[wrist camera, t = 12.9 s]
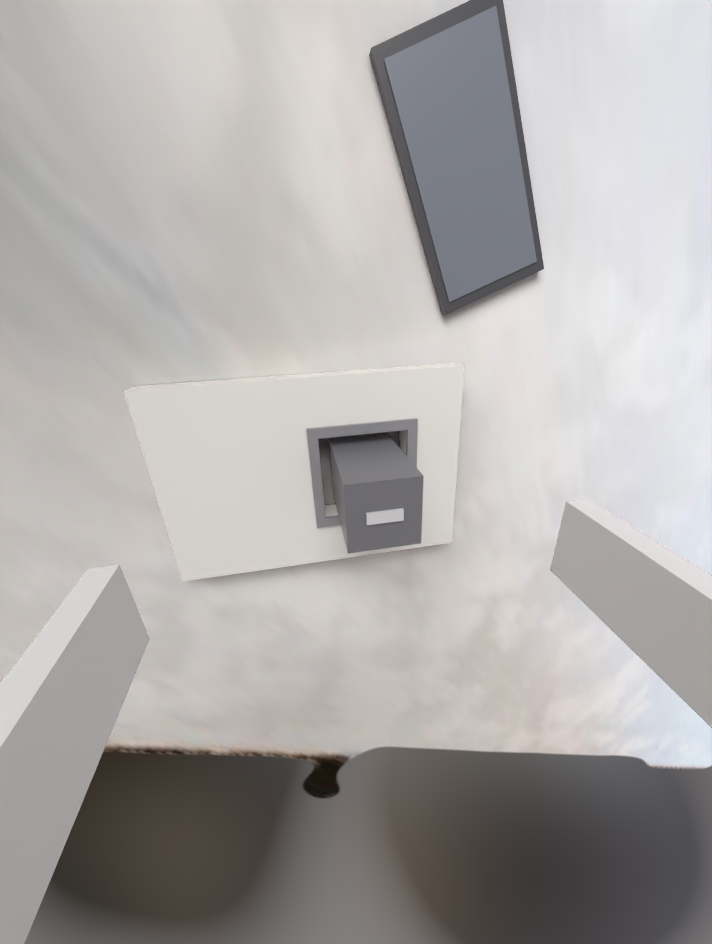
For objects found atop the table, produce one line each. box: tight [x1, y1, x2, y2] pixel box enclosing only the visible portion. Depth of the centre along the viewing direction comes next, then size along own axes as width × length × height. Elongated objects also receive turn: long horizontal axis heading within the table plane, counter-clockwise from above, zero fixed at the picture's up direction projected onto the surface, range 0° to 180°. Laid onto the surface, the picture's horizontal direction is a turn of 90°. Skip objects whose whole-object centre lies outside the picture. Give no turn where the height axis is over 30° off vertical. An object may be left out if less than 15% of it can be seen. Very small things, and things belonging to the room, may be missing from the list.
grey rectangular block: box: [329, 433, 424, 554], centre depth 27 cm, size 5×5×9 cm
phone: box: [369, 0, 544, 315], centre depth 24 cm, size 8×15×1 cm, turn 23°
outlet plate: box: [123, 363, 465, 582], centre depth 29 cm, size 24×16×2 cm, turn 93°
